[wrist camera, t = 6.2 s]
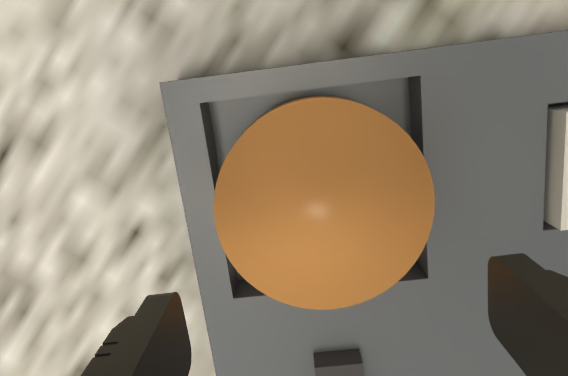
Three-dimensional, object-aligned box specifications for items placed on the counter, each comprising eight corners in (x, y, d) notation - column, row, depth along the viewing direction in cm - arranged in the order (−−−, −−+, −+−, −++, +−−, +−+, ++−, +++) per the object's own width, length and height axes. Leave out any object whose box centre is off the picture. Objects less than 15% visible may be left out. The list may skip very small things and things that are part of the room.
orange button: (413, 83, 19) (431, 85, 16) (422, 273, 21) (438, 298, 19) (207, 109, 19) (195, 114, 17) (237, 292, 22) (231, 319, 19)
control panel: (750, 7, 20) (863, -9, 16) (696, 363, 26) (773, 418, 22) (176, 80, 22) (151, 83, 18) (236, 405, 27) (226, 464, 23)
